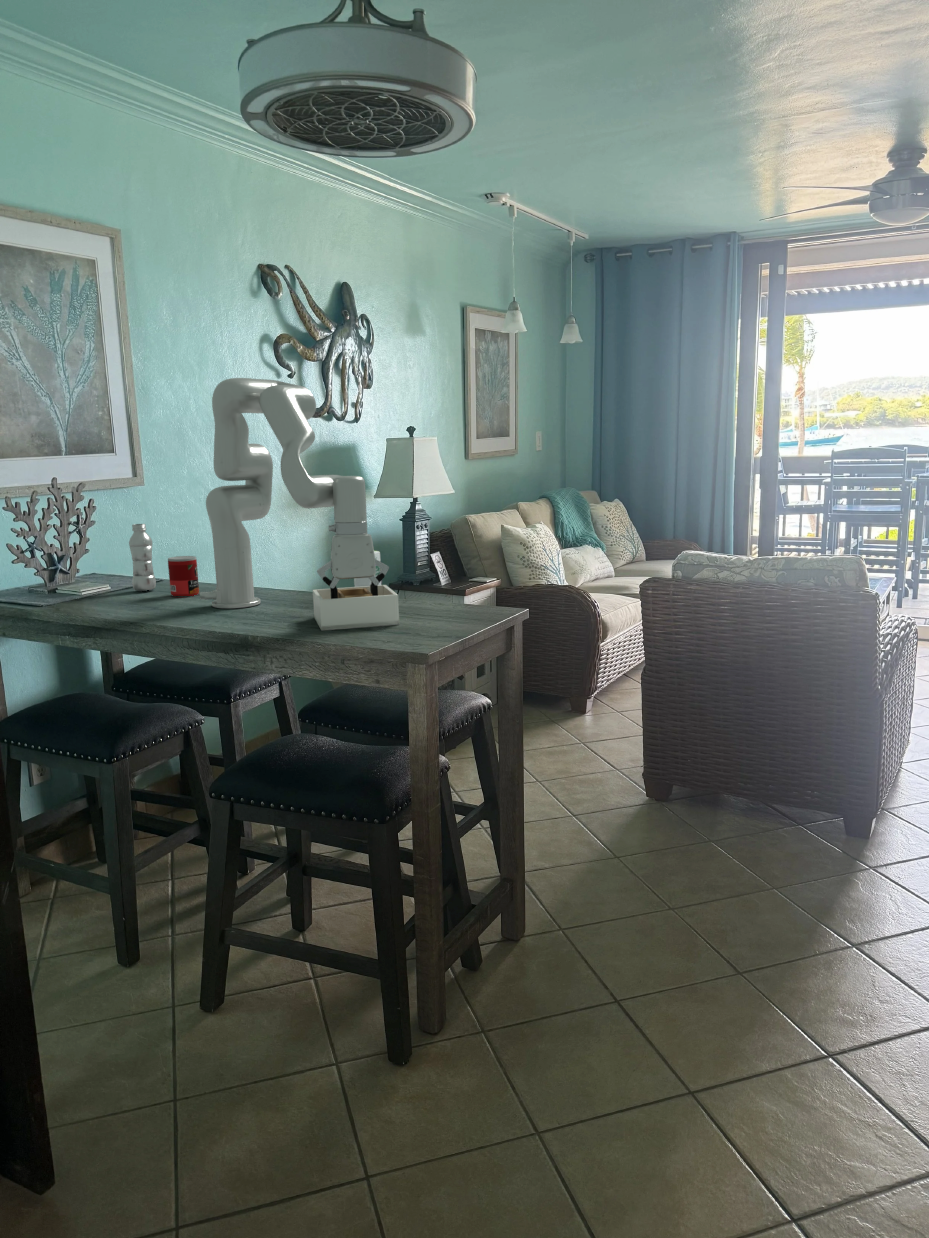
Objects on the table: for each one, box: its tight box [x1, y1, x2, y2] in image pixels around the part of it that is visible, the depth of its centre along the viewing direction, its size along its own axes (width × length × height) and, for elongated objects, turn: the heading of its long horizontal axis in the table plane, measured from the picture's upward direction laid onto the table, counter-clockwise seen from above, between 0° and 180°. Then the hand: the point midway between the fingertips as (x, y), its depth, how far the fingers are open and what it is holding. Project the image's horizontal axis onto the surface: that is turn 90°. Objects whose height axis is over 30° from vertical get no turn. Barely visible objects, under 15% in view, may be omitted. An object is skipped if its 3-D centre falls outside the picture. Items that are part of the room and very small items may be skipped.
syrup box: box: [353, 550, 383, 587], centre depth 227 cm, size 6×6×14 cm
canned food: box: [167, 555, 200, 597], centre depth 255 cm, size 8×8×11 cm
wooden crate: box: [338, 588, 372, 598], centre depth 210 cm, size 7×10×6 cm
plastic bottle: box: [128, 523, 157, 592], centre depth 263 cm, size 6×7×20 cm
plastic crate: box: [312, 584, 400, 631], centre depth 210 cm, size 18×16×7 cm
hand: (354, 602), depth 210 cm, fingers open, 8 cm apart
